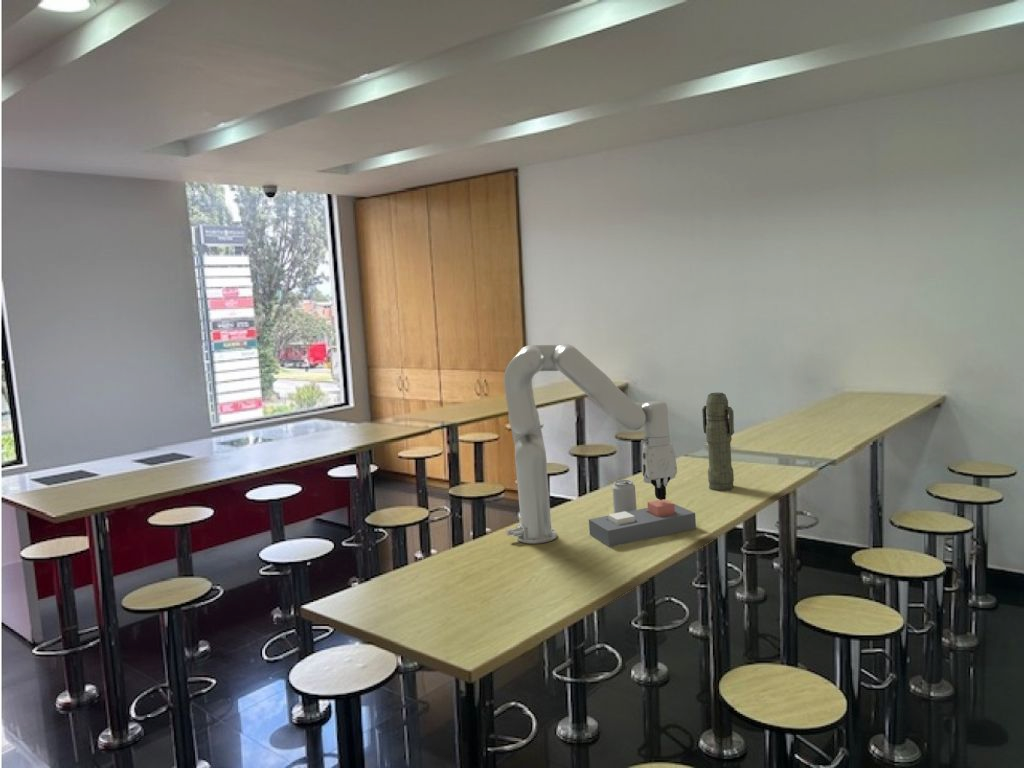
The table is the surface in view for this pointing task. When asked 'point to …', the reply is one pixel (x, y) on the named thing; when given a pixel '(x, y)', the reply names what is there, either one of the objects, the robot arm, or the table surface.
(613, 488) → the can
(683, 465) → the table surface
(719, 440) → the thermos
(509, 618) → the table surface
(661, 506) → the red key
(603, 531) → the key panel
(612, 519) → the white key
